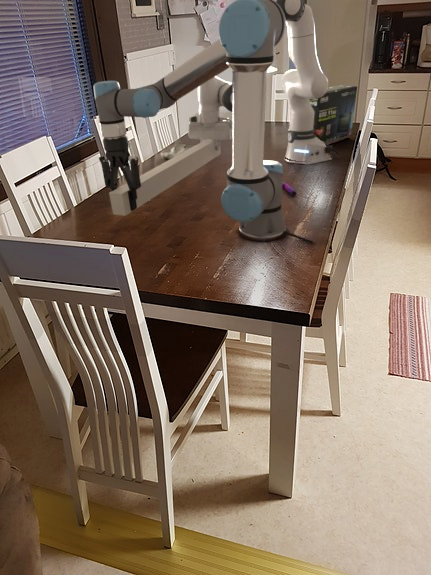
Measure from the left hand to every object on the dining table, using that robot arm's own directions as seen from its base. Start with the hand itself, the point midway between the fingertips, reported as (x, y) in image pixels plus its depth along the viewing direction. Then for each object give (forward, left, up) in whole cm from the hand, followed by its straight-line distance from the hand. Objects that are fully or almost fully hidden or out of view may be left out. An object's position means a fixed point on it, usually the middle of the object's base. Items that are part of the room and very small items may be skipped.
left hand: (126, 208), depth 152 cm
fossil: (+34, -80, -7) cm, 87 cm away
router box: (-23, -135, -7) cm, 138 cm away
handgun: (-30, -59, -7) cm, 67 cm away
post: (+4, -34, -1) cm, 34 cm away
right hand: (+7, -68, +2) cm, 68 cm away
